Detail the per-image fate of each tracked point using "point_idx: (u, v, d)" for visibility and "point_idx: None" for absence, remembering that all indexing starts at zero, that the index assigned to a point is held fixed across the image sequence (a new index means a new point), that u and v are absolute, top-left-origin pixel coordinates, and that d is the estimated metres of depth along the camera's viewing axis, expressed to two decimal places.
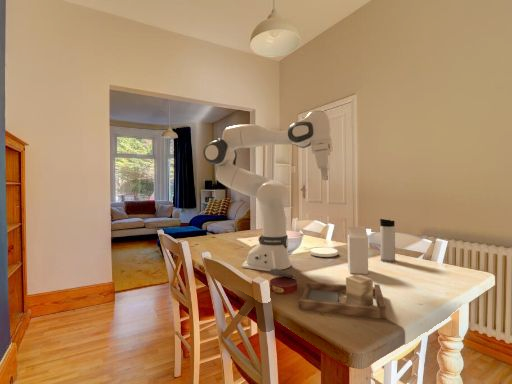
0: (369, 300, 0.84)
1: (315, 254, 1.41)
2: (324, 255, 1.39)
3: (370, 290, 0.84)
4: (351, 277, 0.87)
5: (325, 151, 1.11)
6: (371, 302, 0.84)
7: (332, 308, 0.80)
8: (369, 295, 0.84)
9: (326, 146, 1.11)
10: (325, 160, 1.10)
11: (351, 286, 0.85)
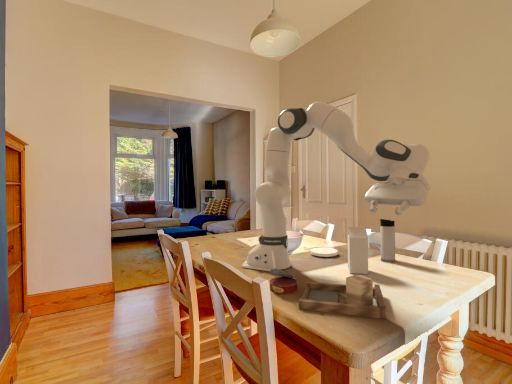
0: (369, 300, 0.84)
1: (315, 254, 1.41)
2: (324, 255, 1.39)
3: (370, 290, 0.84)
4: (351, 277, 0.87)
5: (427, 191, 0.87)
6: (371, 302, 0.84)
7: (332, 308, 0.80)
8: (369, 295, 0.84)
9: (429, 188, 0.89)
10: (425, 199, 0.85)
11: (351, 286, 0.85)
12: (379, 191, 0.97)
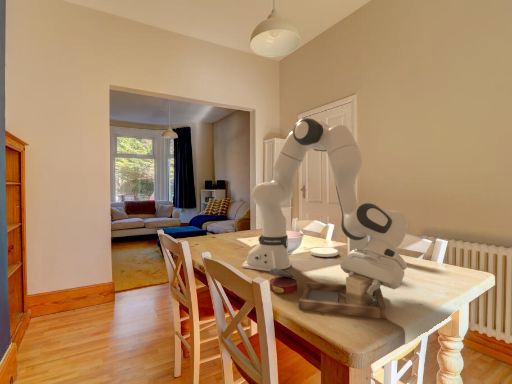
0: (369, 300, 0.84)
1: (315, 254, 1.41)
2: (324, 255, 1.39)
3: None
4: (351, 277, 0.87)
5: (403, 271, 0.82)
6: (371, 302, 0.84)
7: (332, 308, 0.80)
8: (369, 295, 0.84)
9: (405, 266, 0.83)
10: (400, 282, 0.80)
11: (351, 286, 0.85)
12: (355, 262, 0.91)
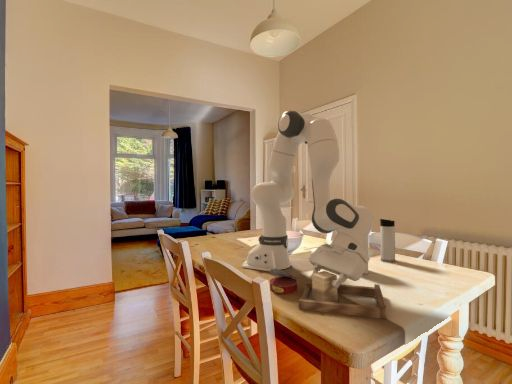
0: (333, 295, 0.87)
1: None
2: None
3: None
4: (317, 273, 0.90)
5: (365, 264, 0.85)
6: (335, 297, 0.88)
7: (332, 308, 0.80)
8: (333, 290, 0.87)
9: (368, 260, 0.86)
10: (361, 274, 0.83)
11: (316, 282, 0.88)
12: (322, 256, 0.95)
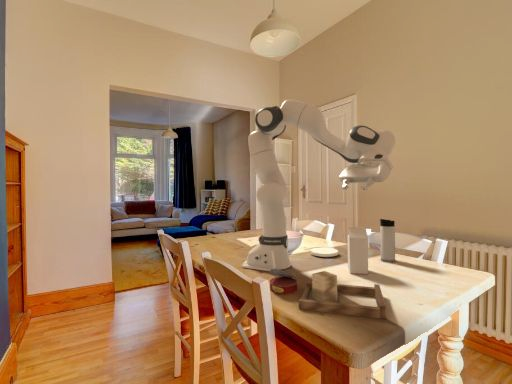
0: (333, 295, 0.87)
1: (315, 254, 1.41)
2: (324, 255, 1.39)
3: (334, 286, 0.87)
4: (317, 273, 0.90)
5: (390, 170, 1.01)
6: (335, 297, 0.88)
7: (332, 308, 0.80)
8: (333, 290, 0.87)
9: (391, 167, 1.02)
10: (387, 176, 0.99)
11: (316, 282, 0.88)
12: (351, 171, 1.11)
